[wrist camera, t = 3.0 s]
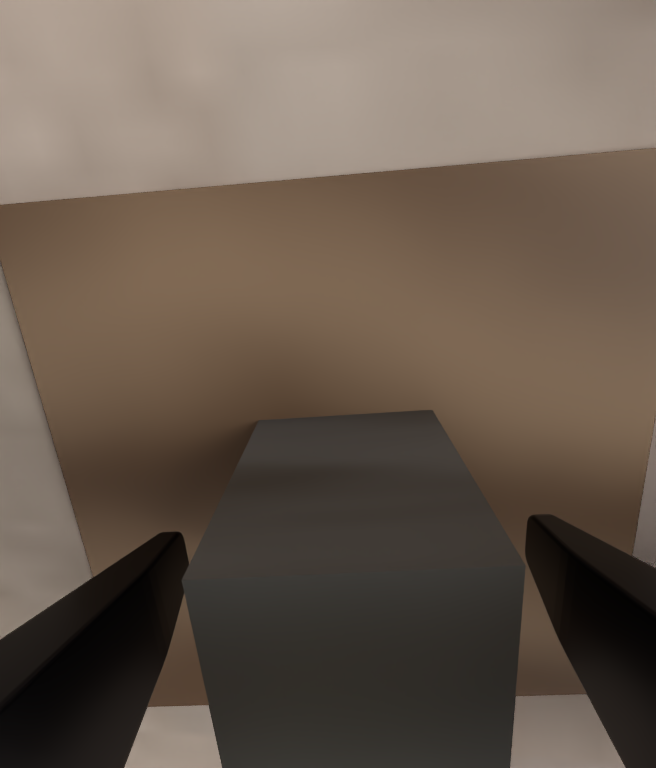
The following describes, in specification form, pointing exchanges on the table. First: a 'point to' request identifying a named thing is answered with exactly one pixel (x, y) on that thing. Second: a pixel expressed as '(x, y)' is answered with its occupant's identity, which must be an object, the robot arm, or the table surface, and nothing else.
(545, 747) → the table surface
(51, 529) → the table surface
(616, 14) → the table surface
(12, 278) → the lid
